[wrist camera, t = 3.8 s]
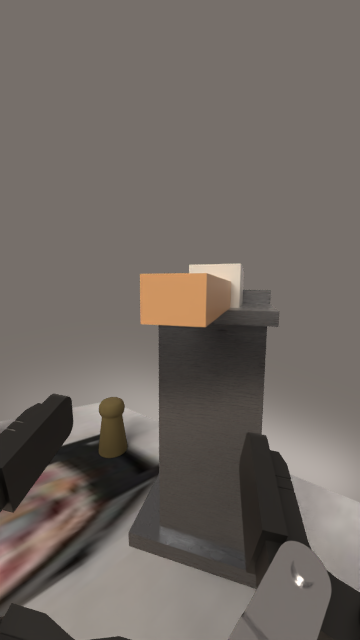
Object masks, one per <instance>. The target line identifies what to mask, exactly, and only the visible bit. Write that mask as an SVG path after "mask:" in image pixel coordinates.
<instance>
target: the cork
mask: <svg viewBox="0 0 360 640" xmlns="http://www.w3.org/2000/svg"><path fill="white" fill-rule="evenodd" d="M124 408H125V406H124V402H123V400H122V399H120V398H117V397H110V398H106V399H104V400H103V401H102V402H101V403H100V405H99V413H100V415H101V416H102V421H101V431H100V441H99V454H100V455H101V456H102V457H105V458H114V457H117V456H120V455H122V454H123V453H124V452H125V451H126V450H127V441H126V435H125V429H124V423H123V417H122V414H123V412H124Z"/></svg>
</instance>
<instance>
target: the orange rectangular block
mask: <svg viewBox="0 0 360 640" xmlns="http://www.w3.org/2000/svg"><path fill="white" fill-rule="evenodd" d="M243 275H244V269H243V267H242V265H241V264H209V265H208V264H205V265H189V273H178V274H140V301H141V303H140V304H141V324H152V325H171V326H190V327H207V326H208V325H209V324H210V323H212V322H213V321H214V320H215V319H217V318H218V317H219V316H220V315H222V314H223V313H224V312H225V311H227V310H228V309H229V308H239V307H240V306H241V305H242V301H243Z"/></svg>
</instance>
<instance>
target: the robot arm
mask: <svg viewBox="0 0 360 640" xmlns="http://www.w3.org/2000/svg"><path fill="white" fill-rule="evenodd" d="M72 427H73V413H72V401H71V398H70V397H68V396H63V395H58V394H52V395H50V396H49V397H48V398H47V399H46V400H45V401H44V402H43V403H42V404H40V403H38V404H36V405H34V406H32V407H30V408H29V409H27V410H25V411H24V412H23V413H22V414H21V415H20V416H19V417H18V418H17V419H16V420H15V422H13V423H12V424H10V425H9V426H8V427H7V429H6V430H4V431H3V432H2V433H1V434H0V512H1V511H2V510H5V511H9V512H12V513H13V512H14V511H15V510H16V508H17V507H18V506H19V504H20V503H21V501H22V500H23V499H24V497H25V496H26V494H27V493H28V492H29V490H30V489H31V488H32V486H33V485H34V483H35V482H36V481H37V479H38V478H39V476H40V475H41V474H42V472H43V471H44V470H45V468H46V467H47V465H48V464H49V463H50V461H51V460H52V458H53V457H54V456H55V454H56V453H57V452H58V450H59V449H60V447H61V446H62V445H63V443H64V442H65V440H66V439H67V438H68V436H69V435H70V433H71V430H72ZM239 479H240V494H241V508H242V522H243V536H244V551H245V565H246V572H247V573H251V574H254V575H256V584H257V590H256V592H255V594H254V596H253V597H252V599H251V601H250V603H249V605H248V607H247V608H246V610H245V612H244V613H243V614H242V616H241V617H240V619H239V621H238V623H237V624H236V626H235V628H234V630H233V632H232V633H231V635H230V637H229V639H228V640H360V592H358V591H356V590H355V589H353V588H352V587H350V586H348V585H347V584H345V583H344V582H342V581H340V580H339V579H337V578H336V577H334V576H333V575H332V574H331V573H330V572H328V571H327V570H326V568H325V566H324V565H323V563H322V562H321V560H320V559H319V557H318V556H317V555H316V554H315V553H314V552H313V551H312V550H311V547H310V545H309V543H308V540H307V536H306V532H305V529H304V525H303V521H302V518H301V514H300V510H299V507H298V503H297V499H296V496H295V493H294V488H293V485H292V481H291V477H290V474H289V470H288V466H287V464H286V462H285V461H284V459H283V458H282V456H281V455H280V453H279V452H276V451H271V450H270V449H269V444H268V440H267V437H266V435H261V434H256V433H251V432H247V434H246V438H245V442H244V445H243V449H242V452H241V456H240V462H239ZM0 640H75V639H73V638H72V637H71V636H70V635H69V634H68V633H66V632H65V631H64V630H63V629H62V628H61V627H60V626H59V625H58V624H57V623H55V622H54V621H53V620H52V619H51V618H50V617H49V616H48V615H47V614H45V613H42V612H39V611H35V610H32V609H29V608H26V607H22V606H19V605H16V604H13V603H12V604H11V605H10V607H9V609H8V611H7V613H6V614H5V616H3V617H0ZM92 640H130V639H127V638H124V637H120V636H117V637H109V638H100V639H92Z"/></svg>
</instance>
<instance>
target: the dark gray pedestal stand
mask: <svg viewBox="0 0 360 640" xmlns="http://www.w3.org/2000/svg"><path fill="white" fill-rule="evenodd" d="M270 297H271V290H243V301H242V305H241V306H240V307H239V308H229V309H228V310H227V311H225V312H224V313H223V314H222V315H220V316H219V317H218V318H217V319H215V320H214V321H213V322H212V323H210V324H209V325H208V326H207V327H190V326H171V325H159V475H158V477H157V478H156V480H155V482H154V484H153V486H152V488H151V490H150V492H149V494H148V496H147V498H146V500H145V502H144V504H143V506H142V508H141V510H140V512H139V514H138V516H137V518H136V520H135V521H134V523H133V525H132V527H131V529H130V531H129V546H132V547H135V548H137V549H140V550H143V551H146V552H149V553H152V554H155V555H158V556H161V557H164V558H167V559H170V560H173V561H176V562H179V563H182V564H185V565H188V566H191V567H194V568H197V569H199V570H202V571H205V572H208V573H211V574H214V575H217V576H220V577H223V578H226V579H229V580H232V581H235V582H238V583H241V584H244V585H247V586H250V587H253V588H256V589H257V584H256V575H254V574H251V573H247V572H246V565H245V551H244V536H243V522H242V508H241V494H240V479H239V462H240V456H241V452H242V449H243V445H244V442H245V438H246V434H247V432H251V433H256V434H261V432H262V414H263V412H262V411H263V394H264V374H265V355H266V336H267V326H272V327H273V326H274V327H278V325H279V311H278V310H277V309H276V308H274V307H273V306H272V305H271V304H270Z"/></svg>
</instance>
